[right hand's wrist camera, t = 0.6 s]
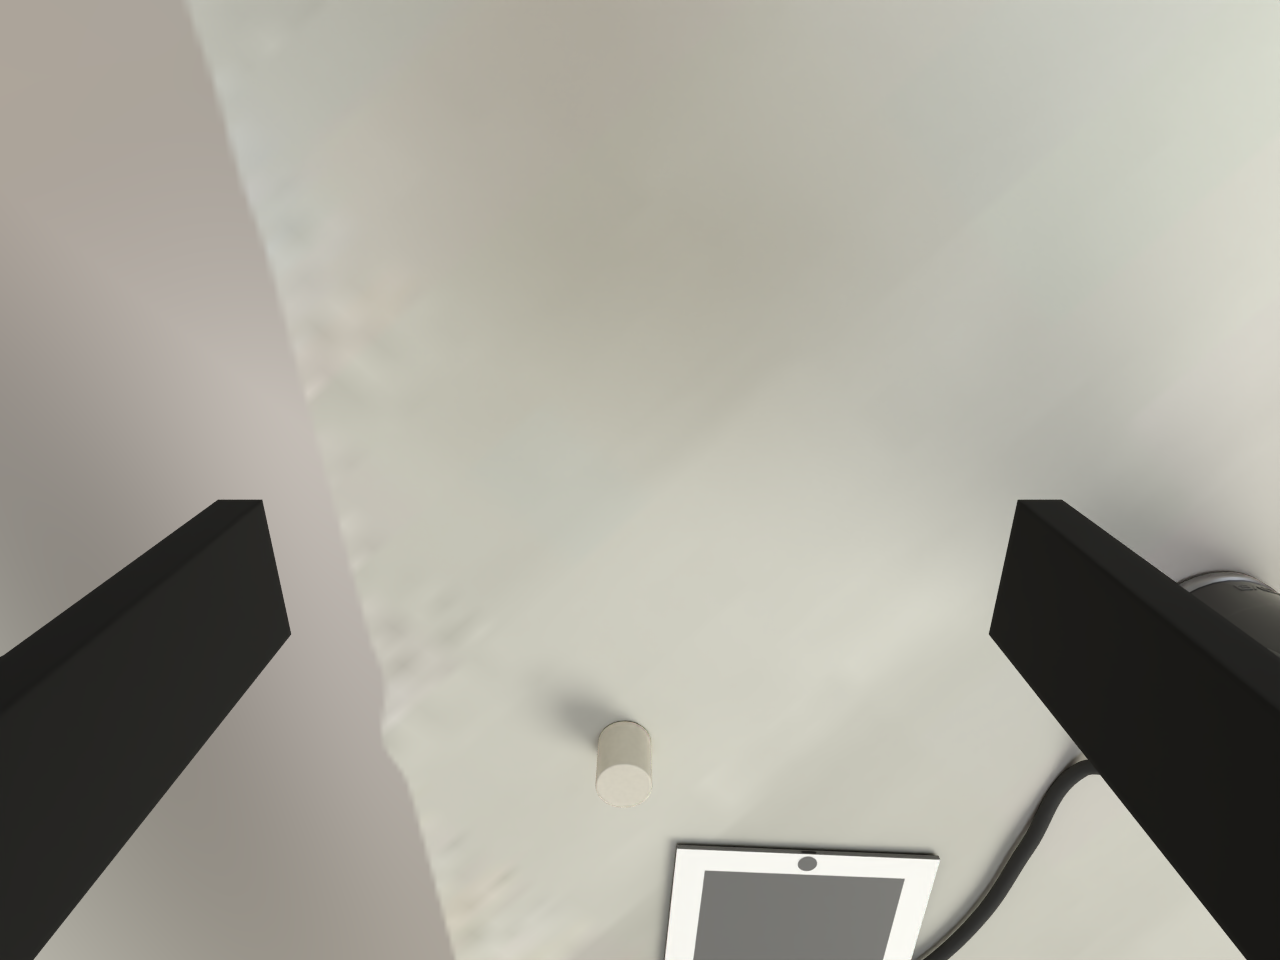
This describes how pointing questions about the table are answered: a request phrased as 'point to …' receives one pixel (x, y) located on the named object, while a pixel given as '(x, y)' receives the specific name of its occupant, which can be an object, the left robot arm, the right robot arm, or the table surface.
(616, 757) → the can
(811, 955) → the tablet
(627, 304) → the table surface
